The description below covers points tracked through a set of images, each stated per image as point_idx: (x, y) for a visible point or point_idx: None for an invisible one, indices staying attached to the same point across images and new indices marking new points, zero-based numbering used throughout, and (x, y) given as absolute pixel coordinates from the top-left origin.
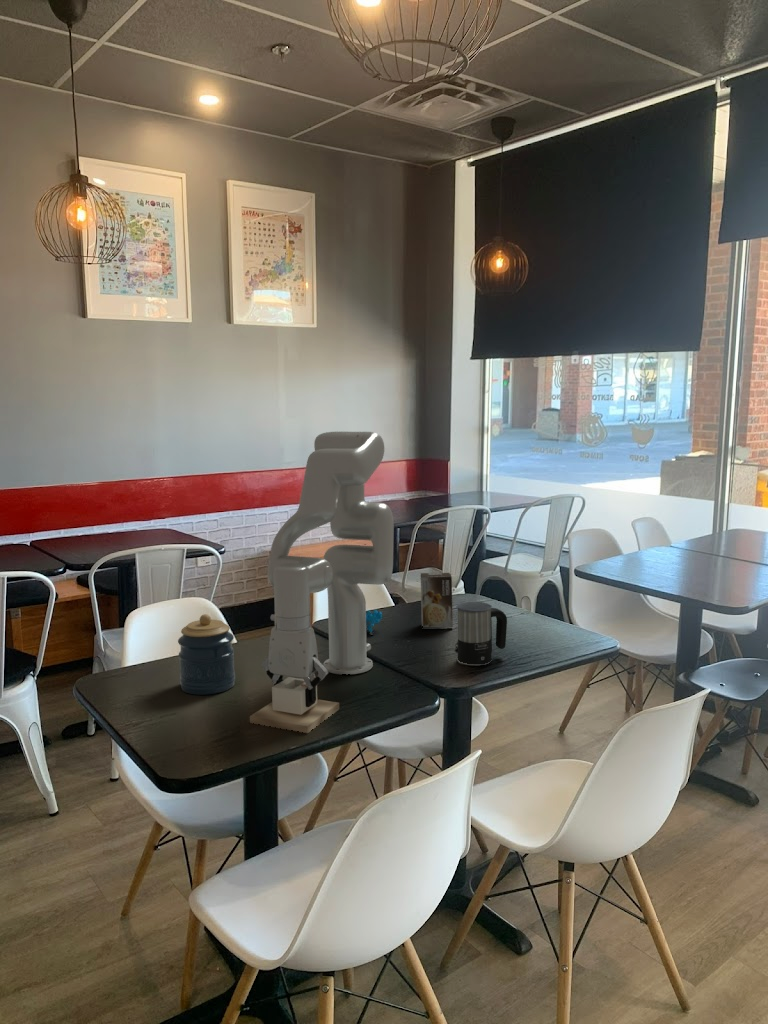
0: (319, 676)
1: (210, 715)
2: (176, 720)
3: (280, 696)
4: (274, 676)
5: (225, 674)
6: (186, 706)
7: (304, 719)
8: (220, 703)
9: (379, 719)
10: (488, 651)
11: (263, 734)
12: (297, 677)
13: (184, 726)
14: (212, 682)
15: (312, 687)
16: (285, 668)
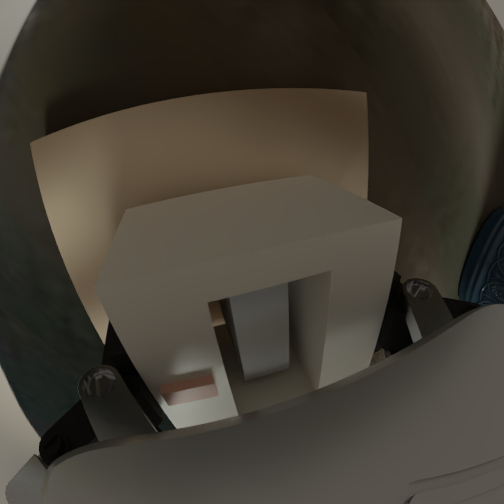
0: (43, 476)
1: (455, 114)
2: (479, 67)
3: (299, 209)
4: (441, 313)
5: (494, 280)
6: (494, 148)
7: (97, 197)
8: (463, 197)
9: (6, 368)
10: None
11: (221, 16)
12: (181, 430)
13: (456, 34)
14: (500, 242)
15: (85, 387)
16: (427, 450)
